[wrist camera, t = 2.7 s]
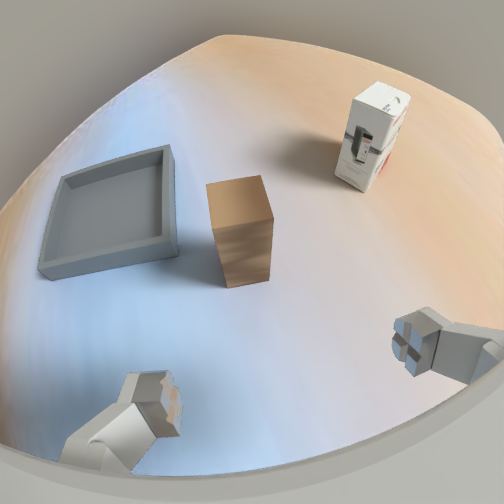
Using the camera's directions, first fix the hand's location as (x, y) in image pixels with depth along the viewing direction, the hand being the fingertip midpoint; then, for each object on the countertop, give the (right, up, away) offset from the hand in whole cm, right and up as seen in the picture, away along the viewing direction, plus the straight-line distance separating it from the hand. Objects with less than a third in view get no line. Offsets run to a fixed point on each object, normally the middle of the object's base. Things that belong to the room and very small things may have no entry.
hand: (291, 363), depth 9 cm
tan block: (-2, +2, +19) cm, 19 cm away
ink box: (+14, +15, +25) cm, 32 cm away
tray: (-19, +8, +22) cm, 30 cm away
